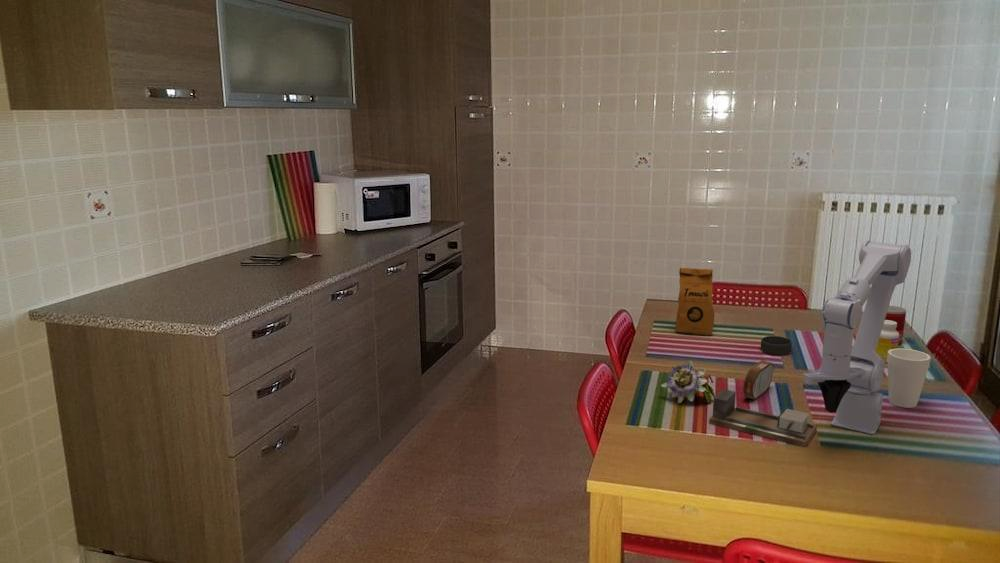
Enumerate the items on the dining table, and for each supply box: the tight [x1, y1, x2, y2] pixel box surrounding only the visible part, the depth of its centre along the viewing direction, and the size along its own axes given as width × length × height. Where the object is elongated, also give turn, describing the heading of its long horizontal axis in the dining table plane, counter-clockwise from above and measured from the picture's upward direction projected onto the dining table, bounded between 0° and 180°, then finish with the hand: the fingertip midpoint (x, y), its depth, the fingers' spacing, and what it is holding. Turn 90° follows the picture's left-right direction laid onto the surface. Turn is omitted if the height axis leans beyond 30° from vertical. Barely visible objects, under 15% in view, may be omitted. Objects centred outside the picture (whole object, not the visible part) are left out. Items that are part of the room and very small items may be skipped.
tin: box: [742, 359, 774, 400], centre depth 193 cm, size 15×3×8 cm, turn 141°
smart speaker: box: [760, 335, 793, 356], centre depth 227 cm, size 9×9×4 cm
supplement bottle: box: [876, 320, 899, 368], centre depth 214 cm, size 7×7×13 cm
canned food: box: [885, 305, 907, 346], centre depth 234 cm, size 8×8×11 cm
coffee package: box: [675, 267, 715, 336], centre depth 244 cm, size 10×12×22 cm
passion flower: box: [660, 360, 716, 404], centre depth 190 cm, size 11×11×12 cm
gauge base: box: [708, 388, 818, 447], centre depth 173 cm, size 22×10×6 cm, turn 54°
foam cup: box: [887, 348, 932, 409], centre depth 186 cm, size 10×9×13 cm
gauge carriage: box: [777, 408, 810, 434], centre depth 168 cm, size 6×8×3 cm
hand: (830, 410), depth 164 cm, fingers closed
